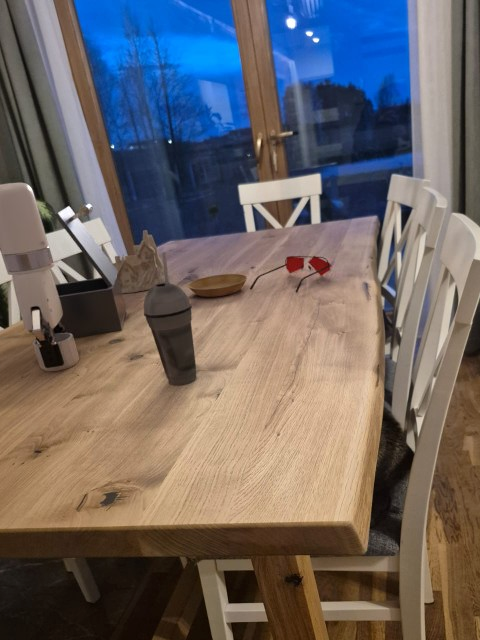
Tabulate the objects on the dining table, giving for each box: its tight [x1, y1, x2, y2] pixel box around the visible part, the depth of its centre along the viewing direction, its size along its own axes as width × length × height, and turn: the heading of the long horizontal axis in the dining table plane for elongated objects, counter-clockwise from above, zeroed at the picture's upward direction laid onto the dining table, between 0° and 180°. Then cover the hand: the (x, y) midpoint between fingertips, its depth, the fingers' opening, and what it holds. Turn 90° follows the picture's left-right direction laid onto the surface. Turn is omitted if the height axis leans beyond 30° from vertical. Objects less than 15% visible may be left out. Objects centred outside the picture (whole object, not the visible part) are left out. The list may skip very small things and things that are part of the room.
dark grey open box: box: [43, 276, 128, 339], centre depth 125 cm, size 16×14×9 cm
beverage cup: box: [143, 252, 198, 386], centre depth 88 cm, size 7×7×20 cm
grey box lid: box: [54, 203, 118, 287], centre depth 120 cm, size 17×14×5 cm
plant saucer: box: [186, 273, 248, 298], centre depth 143 cm, size 15×15×3 cm
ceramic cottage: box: [112, 229, 170, 295], centre depth 156 cm, size 16×16×15 cm
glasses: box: [249, 255, 332, 294], centre depth 142 cm, size 14×16×5 cm
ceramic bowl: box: [31, 333, 80, 372], centre depth 105 cm, size 7×7×5 cm
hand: (58, 358), depth 105 cm, fingers closed on ceramic bowl, 6 cm apart
